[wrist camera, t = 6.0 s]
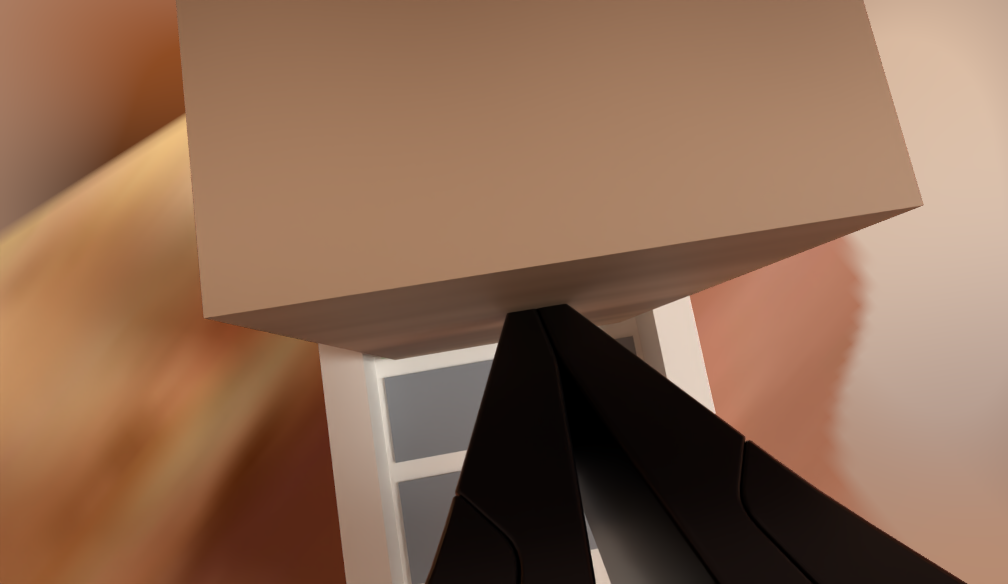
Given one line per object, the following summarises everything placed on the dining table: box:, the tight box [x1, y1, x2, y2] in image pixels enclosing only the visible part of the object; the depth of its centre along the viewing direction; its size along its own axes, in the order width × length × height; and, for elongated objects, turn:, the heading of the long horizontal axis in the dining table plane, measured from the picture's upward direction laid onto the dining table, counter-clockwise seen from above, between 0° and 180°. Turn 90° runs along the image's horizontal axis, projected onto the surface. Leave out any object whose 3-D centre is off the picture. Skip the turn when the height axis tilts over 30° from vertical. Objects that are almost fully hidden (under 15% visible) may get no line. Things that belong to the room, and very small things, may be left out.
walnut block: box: [176, 0, 923, 360], centre depth 10 cm, size 4×6×10 cm, turn 100°
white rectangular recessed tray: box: [318, 296, 716, 584], centre depth 14 cm, size 17×9×2 cm, turn 10°
